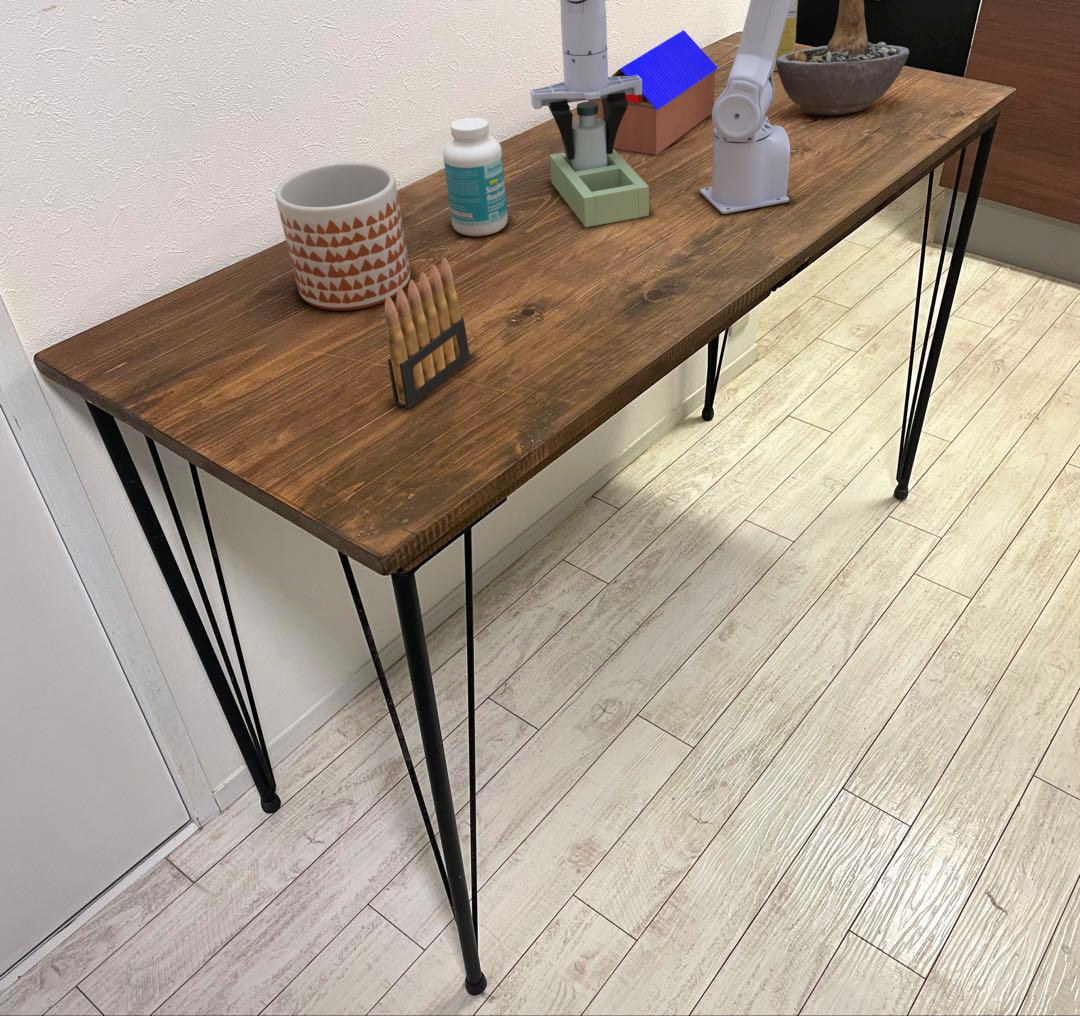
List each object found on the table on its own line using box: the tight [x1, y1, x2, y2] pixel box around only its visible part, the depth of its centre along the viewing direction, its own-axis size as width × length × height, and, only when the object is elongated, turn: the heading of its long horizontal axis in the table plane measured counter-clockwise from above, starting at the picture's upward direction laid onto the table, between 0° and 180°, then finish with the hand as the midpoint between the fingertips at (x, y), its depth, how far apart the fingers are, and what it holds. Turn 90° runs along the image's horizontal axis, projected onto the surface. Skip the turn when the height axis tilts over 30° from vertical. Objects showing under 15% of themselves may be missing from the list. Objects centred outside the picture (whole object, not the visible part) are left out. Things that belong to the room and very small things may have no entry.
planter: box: [776, 0, 910, 116], centre depth 152 cm, size 15×17×20 cm
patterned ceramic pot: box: [274, 161, 412, 312], centre depth 120 cm, size 14×14×13 cm
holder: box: [549, 148, 650, 228], centre depth 138 cm, size 9×16×4 cm, turn 15°
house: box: [587, 29, 719, 156], centre depth 154 cm, size 12×20×12 cm, turn 147°
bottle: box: [572, 100, 607, 172], centre depth 138 cm, size 5×5×10 cm
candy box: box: [773, 0, 799, 72], centre depth 173 cm, size 9×4×15 cm, turn 5°
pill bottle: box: [442, 117, 509, 237], centre depth 130 cm, size 8×7×14 cm
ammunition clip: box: [384, 256, 471, 409], centre depth 102 cm, size 11×2×12 cm, turn 147°
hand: (589, 154), depth 139 cm, fingers closed on bottle, 5 cm apart
